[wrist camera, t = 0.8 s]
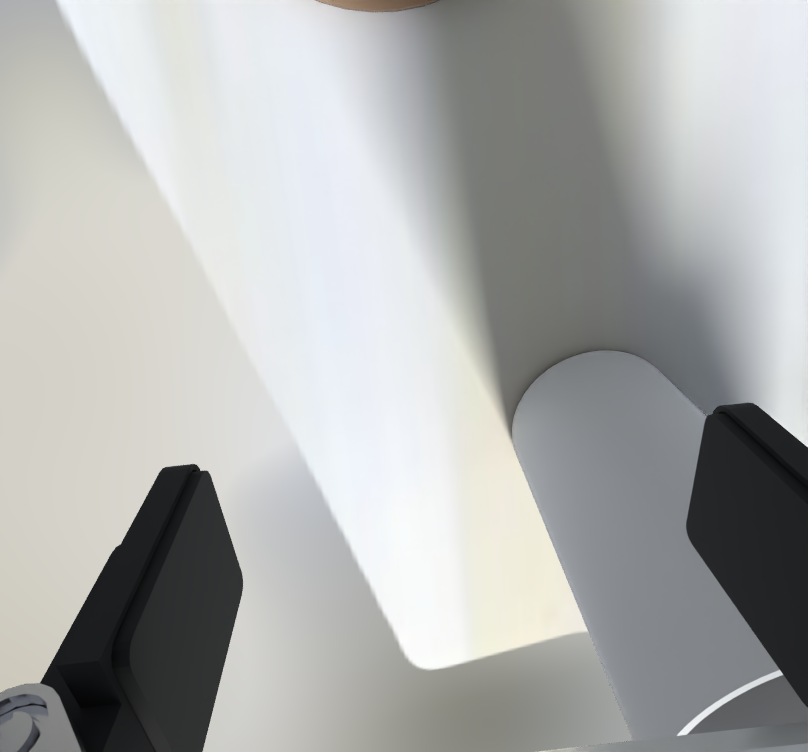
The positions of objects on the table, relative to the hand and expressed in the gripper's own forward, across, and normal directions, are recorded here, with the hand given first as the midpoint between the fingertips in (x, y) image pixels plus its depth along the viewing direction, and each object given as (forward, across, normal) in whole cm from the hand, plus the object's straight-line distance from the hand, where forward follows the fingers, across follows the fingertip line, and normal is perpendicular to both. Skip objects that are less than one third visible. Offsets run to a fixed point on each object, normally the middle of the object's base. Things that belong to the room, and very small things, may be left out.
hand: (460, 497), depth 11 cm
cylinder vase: (+28, -13, +18) cm, 36 cm away
